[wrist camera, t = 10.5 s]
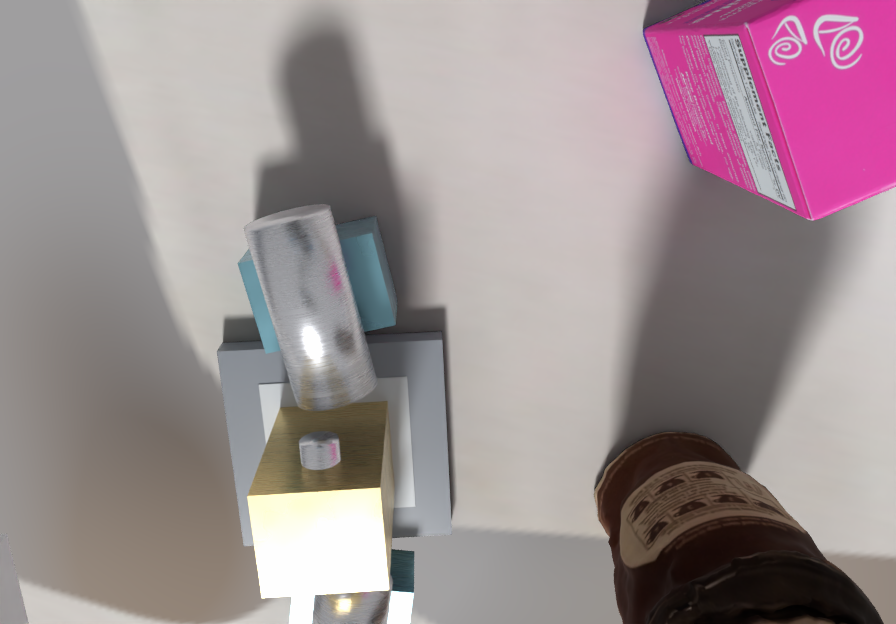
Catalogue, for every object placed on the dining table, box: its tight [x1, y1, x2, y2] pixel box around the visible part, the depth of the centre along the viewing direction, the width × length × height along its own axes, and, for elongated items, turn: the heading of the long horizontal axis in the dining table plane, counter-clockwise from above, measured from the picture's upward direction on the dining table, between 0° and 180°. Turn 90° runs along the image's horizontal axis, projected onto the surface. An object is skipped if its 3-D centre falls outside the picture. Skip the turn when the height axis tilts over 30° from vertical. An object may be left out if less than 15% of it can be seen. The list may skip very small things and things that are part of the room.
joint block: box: [247, 401, 395, 598], centre depth 32 cm, size 6×4×7 cm
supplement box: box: [643, 0, 896, 221], centre depth 27 cm, size 6×6×11 cm
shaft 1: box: [238, 204, 398, 411], centre depth 32 cm, size 7×5×6 cm
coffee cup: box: [594, 432, 884, 624], centre depth 32 cm, size 9×8×13 cm
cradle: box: [217, 331, 452, 546], centre depth 36 cm, size 9×9×1 cm
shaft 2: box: [290, 549, 414, 624], centre depth 36 cm, size 7×5×6 cm
